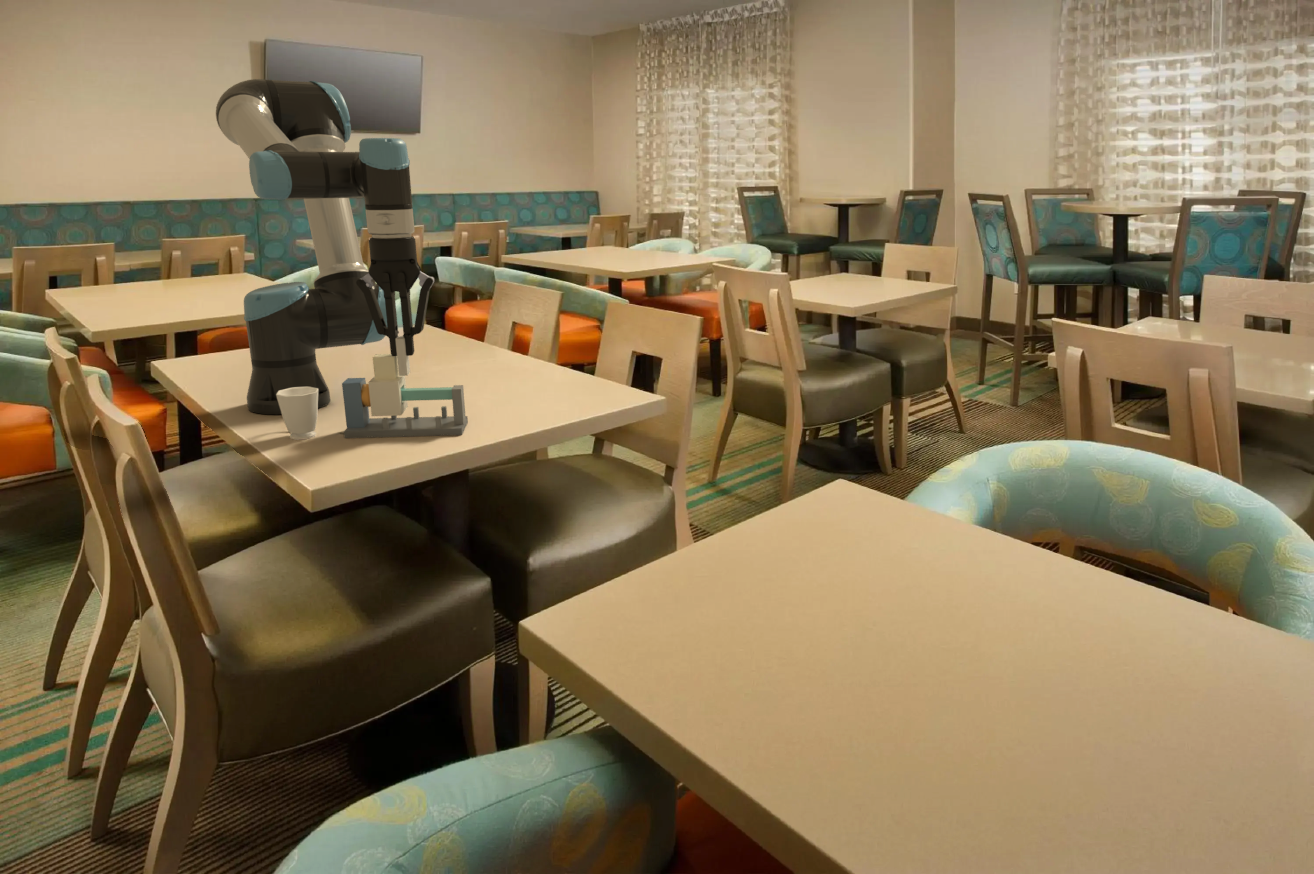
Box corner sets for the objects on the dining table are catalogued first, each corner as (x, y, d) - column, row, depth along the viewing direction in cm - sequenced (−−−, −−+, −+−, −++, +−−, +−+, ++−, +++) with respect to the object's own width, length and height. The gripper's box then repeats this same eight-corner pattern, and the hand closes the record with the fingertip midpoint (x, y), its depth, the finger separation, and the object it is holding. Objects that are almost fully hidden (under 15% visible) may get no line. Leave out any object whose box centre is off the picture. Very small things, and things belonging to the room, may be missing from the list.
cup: (287, 444, 148) (281, 398, 145) (272, 431, 155) (266, 387, 153) (329, 437, 152) (324, 392, 149) (312, 424, 159) (307, 381, 157)
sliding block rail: (467, 422, 160) (464, 373, 158) (462, 434, 153) (458, 383, 150) (356, 425, 159) (350, 375, 156) (344, 438, 151) (338, 386, 148)
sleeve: (407, 406, 158) (402, 351, 155) (401, 415, 152) (396, 358, 149) (379, 407, 157) (374, 352, 154) (371, 416, 151) (365, 359, 148)
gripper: (346, 238, 142) (361, 380, 149) (427, 237, 143) (439, 377, 150) (357, 234, 149) (371, 370, 156) (434, 233, 150) (445, 368, 157)
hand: (404, 373), depth 153 cm, fingers closed
